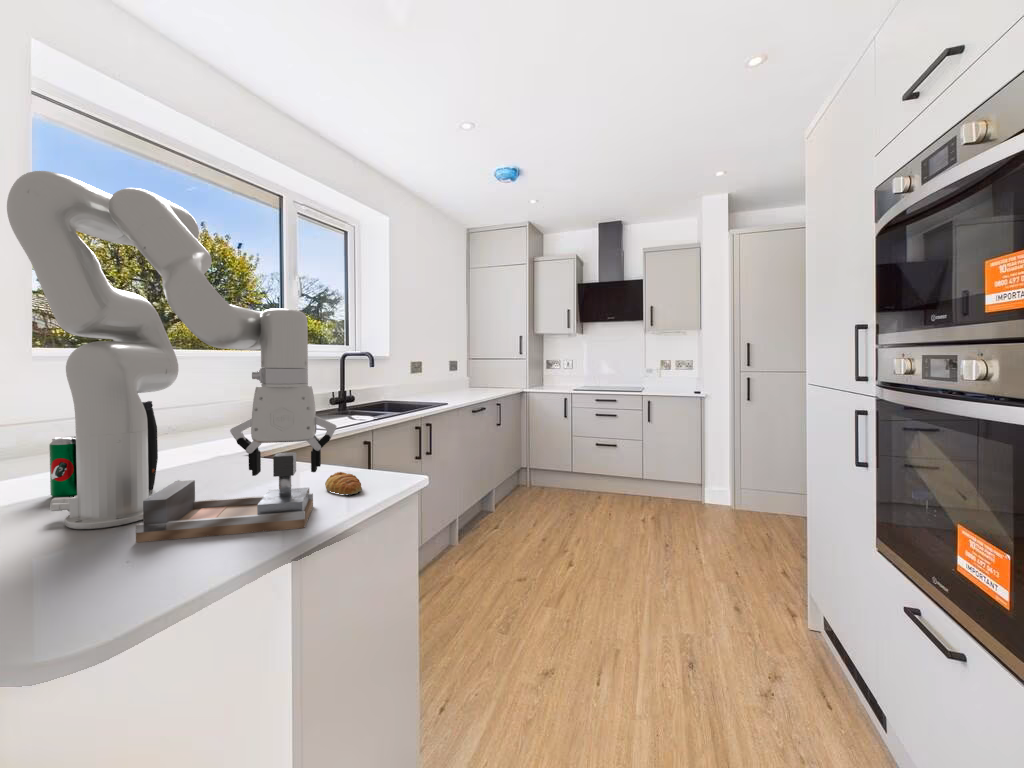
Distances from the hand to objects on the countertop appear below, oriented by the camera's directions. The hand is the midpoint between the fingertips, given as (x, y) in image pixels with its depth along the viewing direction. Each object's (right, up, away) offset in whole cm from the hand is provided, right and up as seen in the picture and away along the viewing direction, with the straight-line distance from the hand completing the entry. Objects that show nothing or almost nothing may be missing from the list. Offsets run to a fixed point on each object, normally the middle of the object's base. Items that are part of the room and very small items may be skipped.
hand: (285, 472), depth 80 cm
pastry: (+4, -8, +19) cm, 21 cm away
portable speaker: (-40, -7, +14) cm, 43 cm away
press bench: (-8, -8, -2) cm, 12 cm away
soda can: (-51, -7, +11) cm, 53 cm away
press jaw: (0, -7, 0) cm, 7 cm away
